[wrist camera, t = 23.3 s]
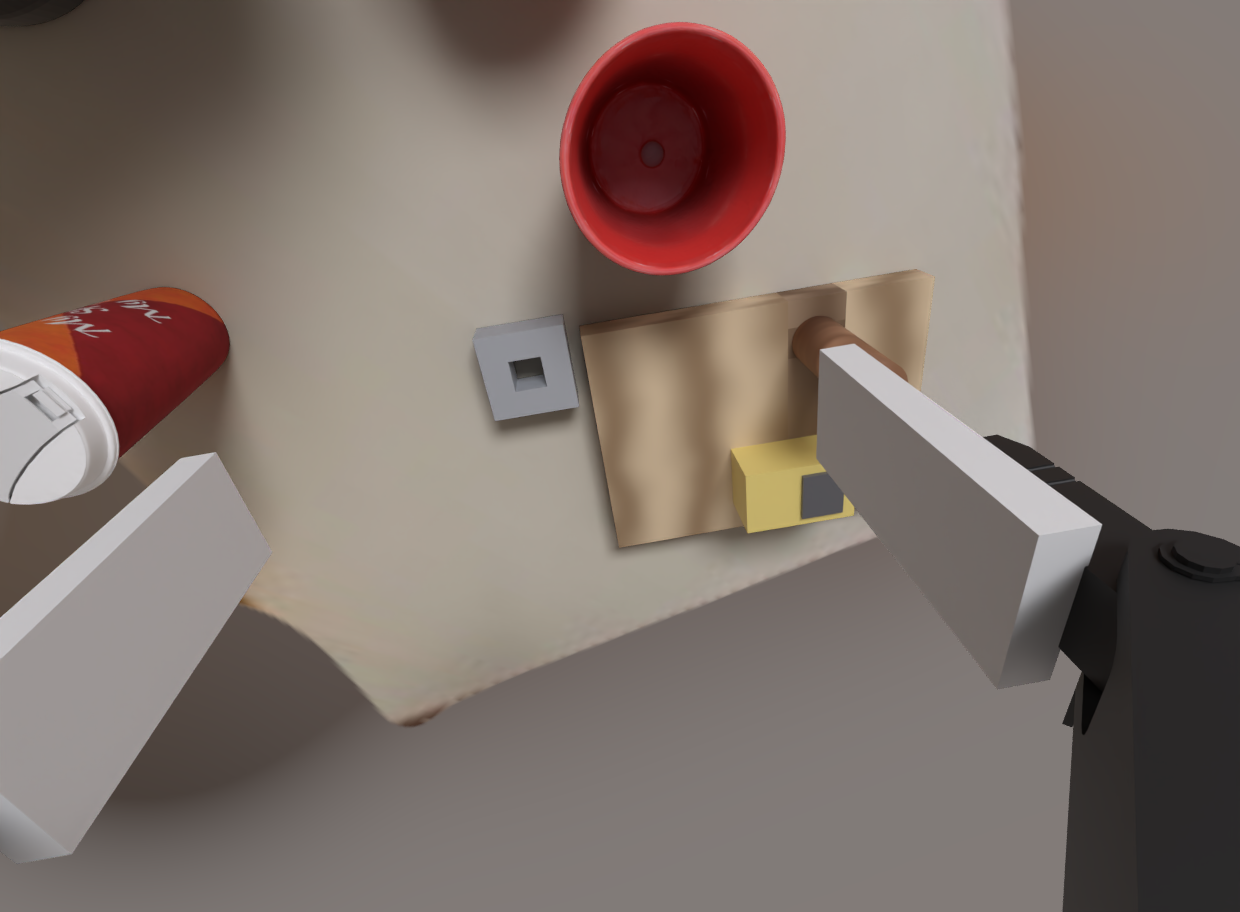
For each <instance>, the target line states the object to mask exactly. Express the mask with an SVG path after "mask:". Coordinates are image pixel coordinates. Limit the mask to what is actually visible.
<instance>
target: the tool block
mask: <svg viewBox="0 0 1240 912" xmlns="http://www.w3.org/2000/svg"><path fill="white" fill-rule="evenodd" d="M472 340H473V344H474V347H475V351H476V354H477V358H478V362H479V365H480V369H481V372H482V376H483V380H484V383H485V387H486V390H487V394H488V398H489V401H490V405H491V408H492V412H493V416H494V419H495V421H499V420H504V419H510V418H516V417H522V416H528V415H534V414H540V413H546V412H551V411H557V410H563V409H569V408H575V407H579V399H578V391H577V386H576V380H575V375H574V370H573V365H572V360H571V355H570V349H569V344H568V339H567V334H566V329H565V324H564V318H563V314H561V315H555V316H549V317H543V318H537V319H531V320H525V321H519V322H514V323H508V324H502V325H496V326H490V327H484V328H478V329H476V332H475V334H474V337H473V339H472ZM535 357H541V361H542V366H543V370H544V375H538V376H532V377H526V378H520V379H517V375H516V371H515V367H514V363H513V361H517V360H523V359H529V358H535Z"/></svg>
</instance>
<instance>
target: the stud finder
mask: <svg viewBox="0 0 1240 912" xmlns="http://www.w3.org/2000/svg"><path fill="white" fill-rule="evenodd" d="M816 450H817V435H812V436H806V437H800V438H794V439H788V440H782V441H776V442H770V443H764V444H758V445H752V446H746V447H740V448H734V449H731V465H732V486H733V504H734V506H735V508H736V510H737V512H738V514H739V516H740V519H741V521H742V523H743V525H744V527H745V529H746V531H747V533H753V532H759V531H765V530H771V529H777V528H783V527H789V526H795V525H801V524H806V523H812V522H818V521H824V520H830V519H836V518H842V517H848V516H854V506H853V505H852V503H851V502H850V501H849V500H848V498H847V497H846V496H845V494H844V493H843V492H842V491H841V489H840V488H839V487H838V486H837V484H836V483H835V482H834V480H833V479H832V478H831V477H830V475H829V474H828V473H827V471H826V470H825V469H824V468H823V466H822V465H821V464H820V463H819V461H818V460H817V459H816Z"/></svg>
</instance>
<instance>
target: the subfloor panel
mask: <svg viewBox="0 0 1240 912" xmlns="http://www.w3.org/2000/svg"><path fill="white" fill-rule="evenodd" d="M934 281H935V276H932V275H929V274H927V273H924V272H922V271H919V270H917V269H913V270H908V271H902V272H896V273H890V274H884V275H878V276H872V277H866V278H860V279H854V280H848V281H842V282H836V283H830V284H825V285H819V286H813V287H807V288H801V289H795V290H789V291H783V292H777V293H771V294H765V295H759V296H753V297H747V298H742V299H736V300H730V301H724V302H718V303H712V304H706V305H700V306H694V307H688V308H682V309H676V310H670V311H664V312H659V313H653V314H647V315H641V316H635V317H629V318H623V319H617V320H611V321H605V322H599V323H593V324H587V325H581V326H580V334H581V340H582V346H583V351H584V357H585V362H586V368H587V373H588V379H589V384H590V390H591V395H592V401H593V406H594V412H595V418H596V423H597V429H598V434H599V440H600V445H601V451H602V456H603V462H604V467H605V473H606V478H607V484H608V489H609V495H610V500H611V506H612V511H613V517H614V522H615V528H616V533H617V539H618V544H619V548H621V547H626V546H632V545H638V544H644V543H650V542H655V541H661V540H667V539H673V538H678V537H684V536H690V535H696V534H701V533H707V532H713V531H719V530H724V529H730V528H736V527H742V526H744V525H743V523H742V521H741V519H740V516H739V514H738V512H737V510H736V508H735V506H734V504H733V486H732V465H731V449H734V448H740V447H746V446H752V445H758V444H764V443H770V442H776V441H782V440H788V439H794V438H800V437H806V436H812V435H817V417H818V384H819V378H818V377H817V376H816V375H815V374H814V373H813V372H812V371H811V370H810V369H809V368H808V367H807V366H805V365H804V364H803V363H802V362H801V361H800V360H799V359H798V358H797V357H796V356H795V354H794V352H793V349H792V340H793V336H794V333H795V331H796V330H797V328H798V327H799V326H800V325H801V324H802V323H803V322H804V321H806V320H807V319H809V318H811V317H814V316H827V317H830V318H832V319H833V320H834V321H836V322H837V323H839V324H840V325H842V326H843V327H844V328H846V329H847V330H849V331H850V332H852V333H853V334H854V335H856V336H857V337H859V338H860V339H862V340H863V341H865V342H866V343H867V344H869V345H870V346H872V347H873V348H875V349H876V350H877V351H879V352H880V353H882V354H883V355H885V356H886V357H887V358H889V359H890V360H892V361H893V362H895V363H896V364H897V365H899V366H900V367H902V368H903V369H904V371H905V372H906V375H907V378H908V383H909V384H910V385H912V386H913V387H914V388H916V389H917V390H919V391H920V392H921V384H922V376H923V368H924V360H925V353H926V345H927V337H928V329H929V321H930V313H931V305H932V297H933V289H934Z"/></svg>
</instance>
